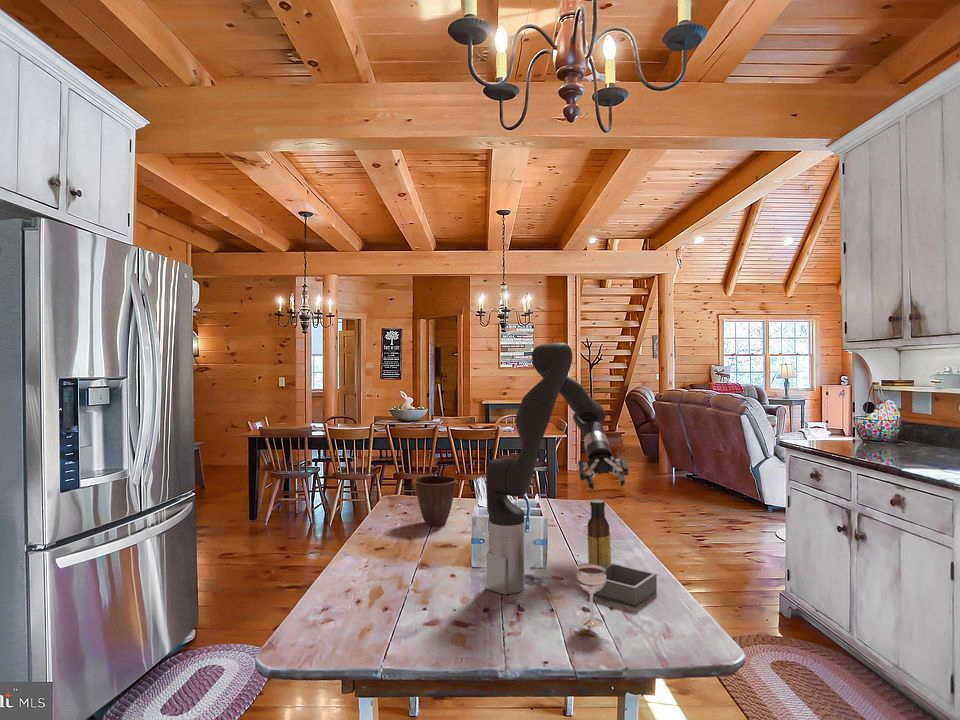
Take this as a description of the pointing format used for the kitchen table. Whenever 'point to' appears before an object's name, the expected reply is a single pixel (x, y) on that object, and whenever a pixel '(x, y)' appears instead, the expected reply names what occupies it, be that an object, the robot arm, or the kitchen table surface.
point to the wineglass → (591, 587)
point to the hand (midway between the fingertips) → (607, 485)
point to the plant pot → (435, 498)
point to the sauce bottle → (598, 535)
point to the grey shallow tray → (627, 585)
